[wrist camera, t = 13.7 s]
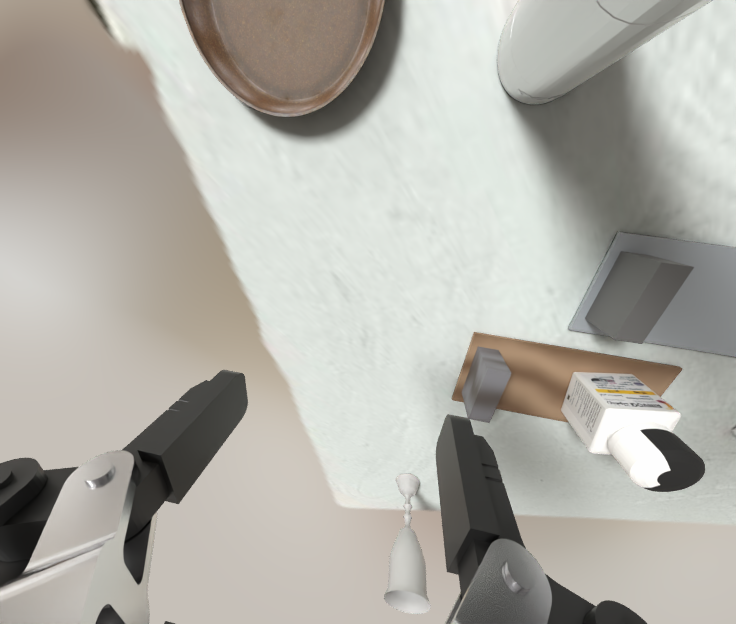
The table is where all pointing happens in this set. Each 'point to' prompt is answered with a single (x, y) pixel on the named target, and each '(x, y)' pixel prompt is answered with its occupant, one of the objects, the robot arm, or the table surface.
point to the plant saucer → (284, 48)
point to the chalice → (407, 560)
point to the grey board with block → (663, 294)
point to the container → (631, 429)
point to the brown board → (538, 376)
